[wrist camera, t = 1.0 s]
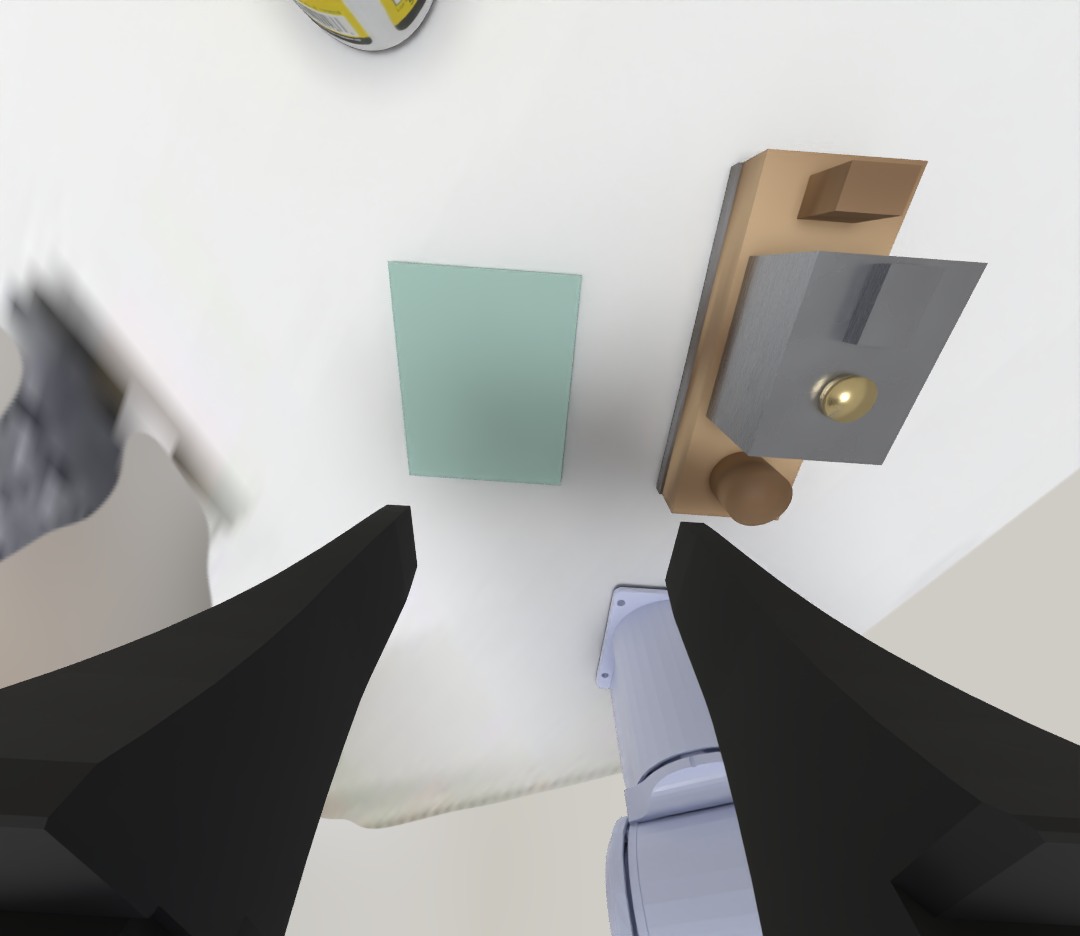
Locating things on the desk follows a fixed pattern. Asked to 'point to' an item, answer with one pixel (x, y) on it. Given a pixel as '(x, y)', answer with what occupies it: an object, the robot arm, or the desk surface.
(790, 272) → the lever cap
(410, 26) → the supplement bottle
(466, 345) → the mat
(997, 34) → the desk surface
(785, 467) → the plane body
